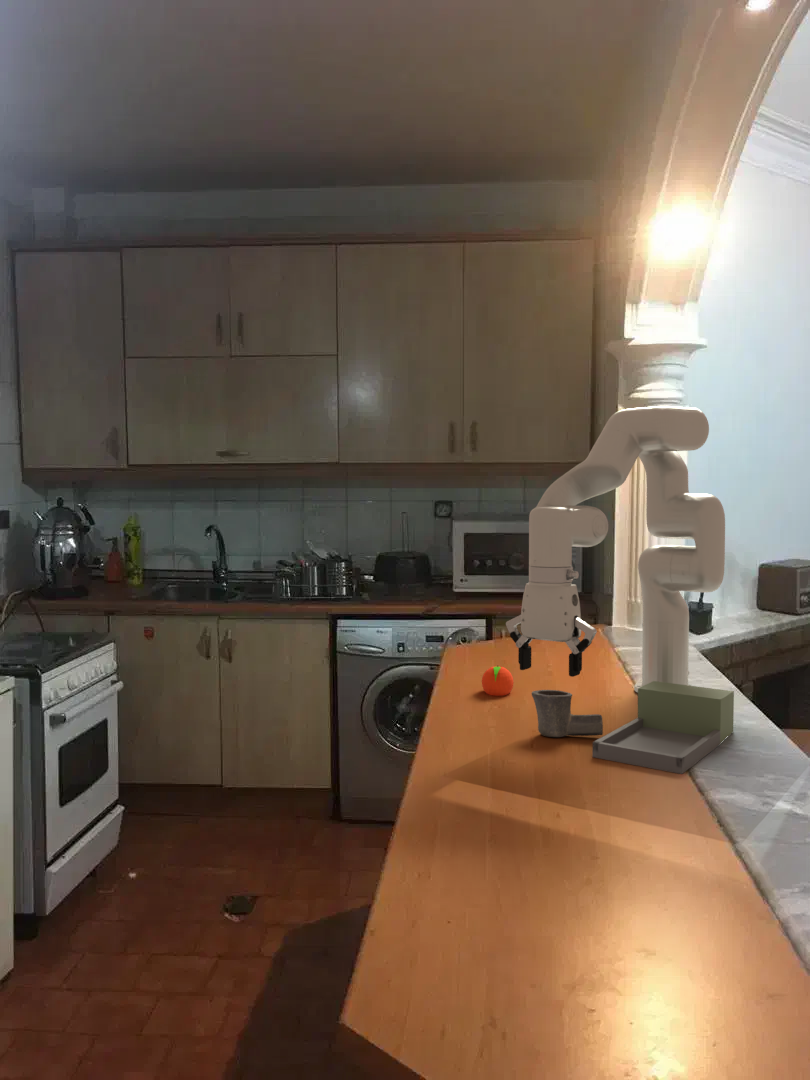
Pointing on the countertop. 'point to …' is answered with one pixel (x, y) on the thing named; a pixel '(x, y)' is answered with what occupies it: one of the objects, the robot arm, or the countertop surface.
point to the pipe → (563, 716)
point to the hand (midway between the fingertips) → (549, 672)
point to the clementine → (497, 681)
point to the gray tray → (670, 727)
